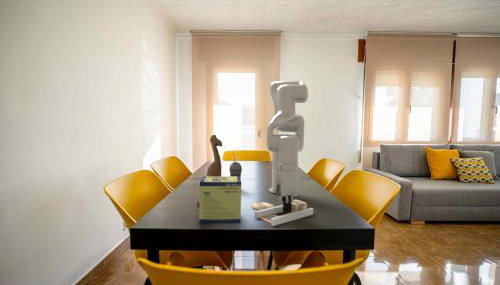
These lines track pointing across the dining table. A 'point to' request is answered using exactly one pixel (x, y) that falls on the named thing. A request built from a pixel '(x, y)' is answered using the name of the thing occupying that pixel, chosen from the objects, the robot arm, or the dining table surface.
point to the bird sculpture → (215, 166)
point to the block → (298, 206)
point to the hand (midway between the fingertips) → (286, 211)
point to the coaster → (261, 206)
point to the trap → (268, 217)
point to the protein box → (220, 200)
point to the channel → (284, 217)
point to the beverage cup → (235, 169)
